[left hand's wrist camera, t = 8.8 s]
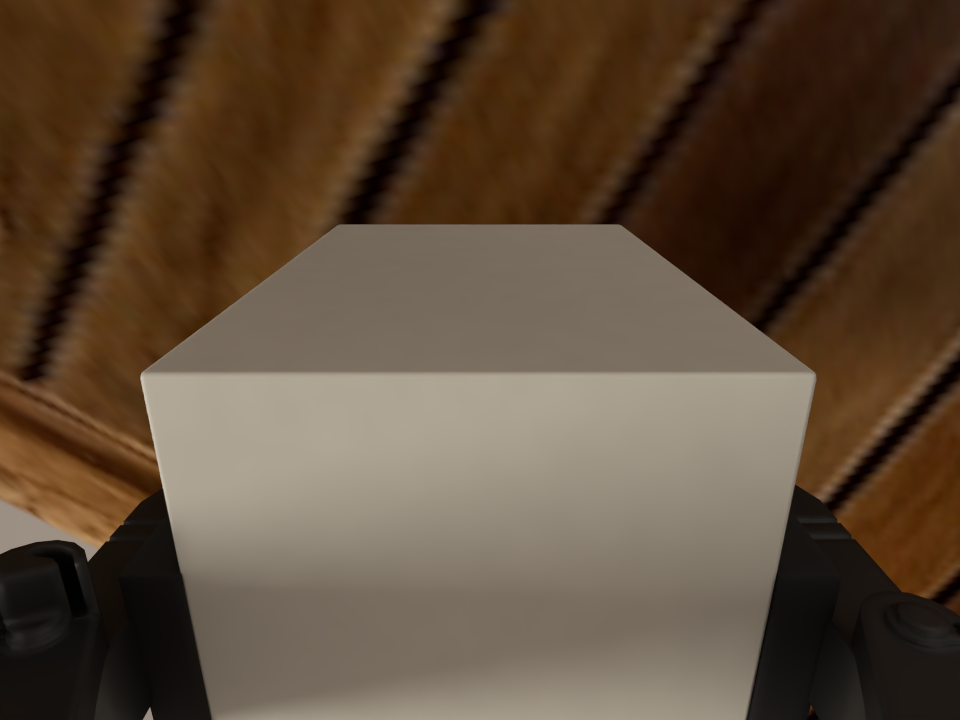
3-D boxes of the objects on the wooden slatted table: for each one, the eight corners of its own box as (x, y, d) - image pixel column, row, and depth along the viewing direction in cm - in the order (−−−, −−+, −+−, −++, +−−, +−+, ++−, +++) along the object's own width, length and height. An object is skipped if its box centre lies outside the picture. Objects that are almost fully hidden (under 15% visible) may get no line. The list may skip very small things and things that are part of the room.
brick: (337, 224, 17) (136, 373, 7) (621, 224, 17) (820, 373, 7) (358, 494, 19) (239, 866, 10) (600, 494, 19) (718, 866, 10)
